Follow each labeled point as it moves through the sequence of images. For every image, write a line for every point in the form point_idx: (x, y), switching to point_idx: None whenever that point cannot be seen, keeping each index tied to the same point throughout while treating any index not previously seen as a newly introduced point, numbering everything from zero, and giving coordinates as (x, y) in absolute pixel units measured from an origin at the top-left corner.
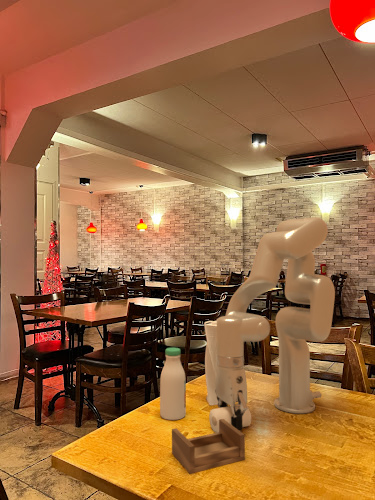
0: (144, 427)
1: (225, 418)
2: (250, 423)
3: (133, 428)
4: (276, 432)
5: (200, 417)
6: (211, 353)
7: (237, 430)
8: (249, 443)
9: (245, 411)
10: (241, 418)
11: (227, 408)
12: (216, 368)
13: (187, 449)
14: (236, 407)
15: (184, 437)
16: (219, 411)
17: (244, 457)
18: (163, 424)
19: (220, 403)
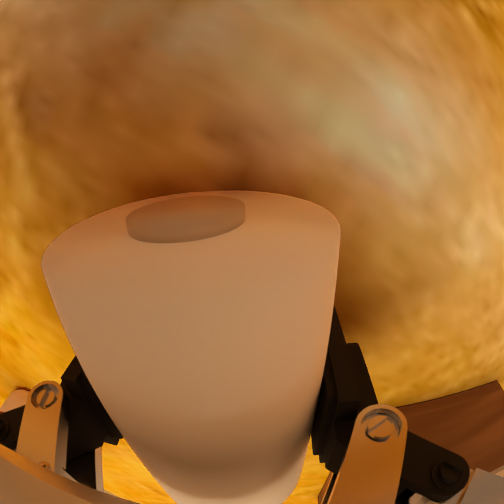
0: (138, 486)
1: (297, 471)
2: (308, 202)
3: (141, 493)
4: (445, 50)
5: (56, 371)
6: None
7: (501, 467)
8: (457, 319)
9: (307, 343)
10: (352, 380)
11: (222, 494)
12: None
13: None
14: (221, 450)
15: None
16: None
17: (499, 385)
18: (121, 464)
19: (100, 476)
